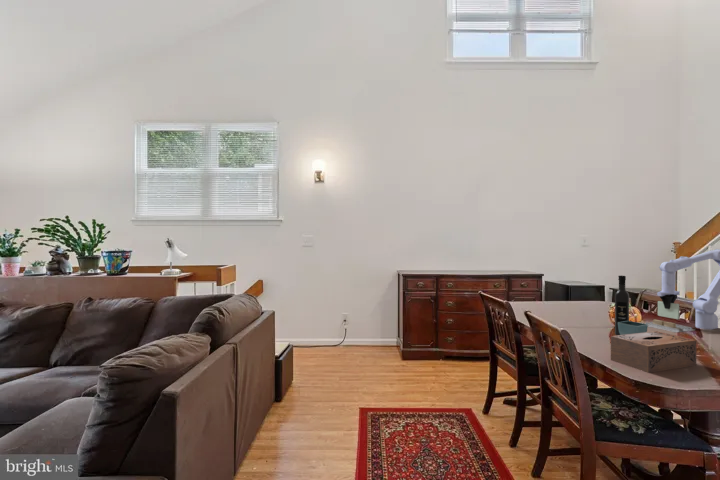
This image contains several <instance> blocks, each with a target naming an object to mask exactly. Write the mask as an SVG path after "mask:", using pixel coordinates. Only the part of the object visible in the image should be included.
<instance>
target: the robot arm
mask: <svg viewBox="0 0 720 480" xmlns="http://www.w3.org/2000/svg"><path fill="white" fill-rule="evenodd" d="M706 260H707V261H708V260H713V261H714V262H716V263H717V265H718V267H720V248H716V249H712V250H707V251H705V252H702V253H699V254H696V255H693V256H691V257H688V256H679V258H676V259H669V261H663V262H662V263H661V264H660V266H659V267H658V268H659V270H660V271H661V290H660V291H657V292H656V293H657V294H656V295H657V296H658V297H659V298H660V299H661V302H663V304H664V307H665V308H666V309H670V305H671V303H675V302H676V300H677V299H678V296H679V295H680V291H678V290H676V272H678V271H679V270H683V269H686V268H690V267H692V265H693V264H694V263H699V262H703V261H706ZM719 297H720V269H719V270H718V272H717V273H716V275H715V276H714V278H713V280H712V281H711V282H710V284H709V286H708V287H707V288H706V290H705V292H704V293H703V294H701V295H700V296H698V298H697V299H695V300H694V301H693V302H692V307H693V308H694V310H695V323H694V324H695V325H694V327H695V328H697V329H701V330H714V329H718V328H719V318H718V316H717V314H716V312H717V309H718V305H719V300H718V299H719Z"/></svg>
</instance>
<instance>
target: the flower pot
mask: <svg viewBox="0 0 720 480" xmlns="http://www.w3.org/2000/svg"><path fill="white" fill-rule="evenodd" d="M618 329H619V333H620V335H626V334H635V333H644V332H648V324H646V323H642V322H637V321H631V320H629V321H623V322H618Z"/></svg>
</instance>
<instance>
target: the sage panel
mask: <svg viewBox="0 0 720 480" xmlns="http://www.w3.org/2000/svg"><path fill="white" fill-rule="evenodd" d="M657 316H659V317H663V318H669V319H675V320H680V303H675V302H674V303H671V305H670V309H666V308H665V307H664V304H663V301H662V300H661V301H660V300H658V301H657Z"/></svg>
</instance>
